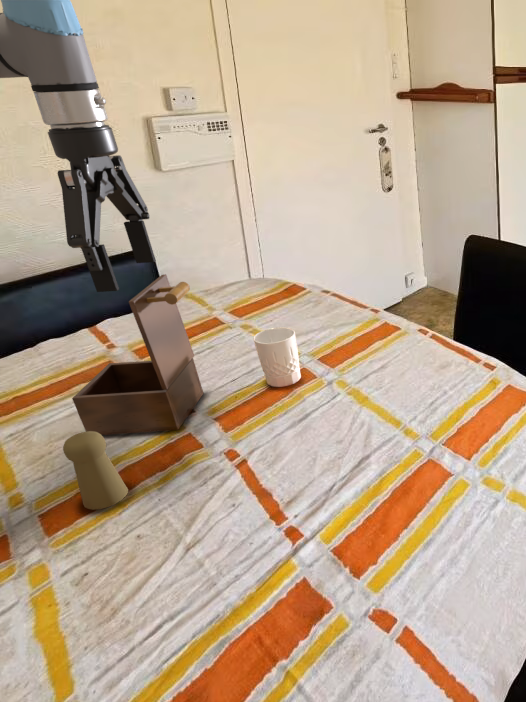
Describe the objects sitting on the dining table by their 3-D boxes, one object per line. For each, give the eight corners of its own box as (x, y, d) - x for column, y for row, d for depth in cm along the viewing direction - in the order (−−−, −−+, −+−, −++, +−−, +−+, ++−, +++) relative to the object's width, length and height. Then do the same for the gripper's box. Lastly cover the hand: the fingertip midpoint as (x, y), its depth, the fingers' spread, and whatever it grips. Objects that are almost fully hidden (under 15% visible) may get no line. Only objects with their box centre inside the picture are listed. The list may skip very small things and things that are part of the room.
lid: (128, 301, 100) (165, 298, 100) (161, 274, 112) (194, 271, 112) (162, 390, 108) (196, 386, 108) (190, 356, 120) (221, 353, 120)
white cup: (272, 370, 132) (262, 327, 127) (309, 370, 132) (300, 327, 127) (258, 388, 125) (246, 343, 120) (296, 388, 125) (286, 343, 120)
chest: (87, 436, 111) (71, 398, 107) (122, 398, 123) (109, 363, 119) (178, 429, 112) (165, 392, 108) (203, 393, 124) (193, 358, 120)
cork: (130, 499, 95) (106, 439, 89) (84, 514, 92) (56, 453, 87) (126, 479, 99) (102, 421, 94) (82, 493, 96) (55, 434, 91)
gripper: (60, 135, 74) (118, 303, 84) (144, 115, 96) (182, 250, 106) (-8, 138, 73) (59, 306, 83) (93, 117, 95) (136, 253, 105)
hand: (128, 275), depth 95 cm, fingers open, 13 cm apart
